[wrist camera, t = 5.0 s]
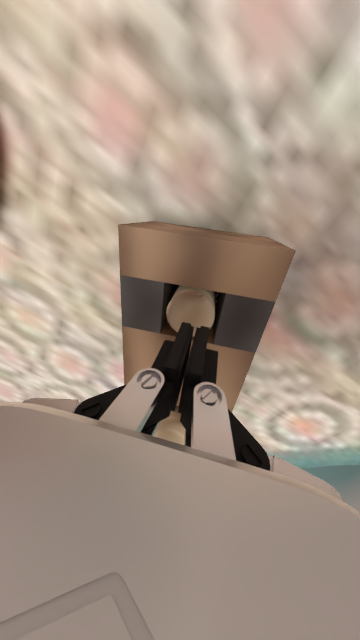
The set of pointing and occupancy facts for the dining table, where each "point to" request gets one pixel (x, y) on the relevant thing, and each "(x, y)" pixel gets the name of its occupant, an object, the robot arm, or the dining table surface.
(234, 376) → the banded wooden block
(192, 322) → the beech peg
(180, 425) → the beech peg
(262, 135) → the dining table surface
